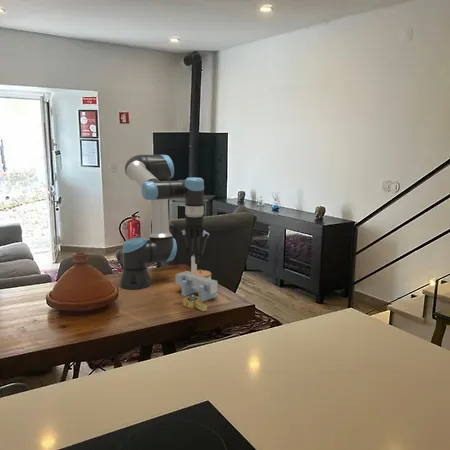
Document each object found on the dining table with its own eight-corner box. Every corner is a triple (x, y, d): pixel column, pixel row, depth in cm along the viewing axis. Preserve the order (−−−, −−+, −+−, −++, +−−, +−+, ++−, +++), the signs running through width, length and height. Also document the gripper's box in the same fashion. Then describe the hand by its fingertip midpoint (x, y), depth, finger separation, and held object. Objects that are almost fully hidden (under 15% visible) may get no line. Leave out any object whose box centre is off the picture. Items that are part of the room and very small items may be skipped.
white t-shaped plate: (175, 284, 207) (175, 273, 206) (186, 280, 212) (186, 270, 211) (208, 294, 193) (208, 283, 192) (219, 291, 198) (219, 280, 197)
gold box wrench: (180, 303, 192) (180, 298, 191) (194, 300, 196) (194, 294, 196) (197, 313, 181) (197, 307, 181) (212, 309, 186) (212, 303, 185)
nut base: (177, 307, 191) (177, 295, 190) (192, 302, 198) (192, 290, 197) (192, 312, 185) (192, 300, 184) (206, 307, 192) (207, 295, 191)
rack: (180, 297, 204) (180, 280, 203) (194, 292, 211) (194, 276, 210) (203, 305, 194) (203, 287, 193) (217, 299, 201) (218, 283, 200)
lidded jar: (210, 292, 212) (210, 273, 210) (188, 291, 212) (188, 272, 210) (211, 285, 222) (211, 267, 221) (190, 284, 223) (190, 266, 221)
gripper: (176, 215, 179) (176, 271, 183) (206, 218, 175) (205, 275, 179) (183, 213, 186) (182, 266, 190) (212, 215, 182) (211, 270, 186)
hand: (193, 270), depth 185 cm, fingers closed
